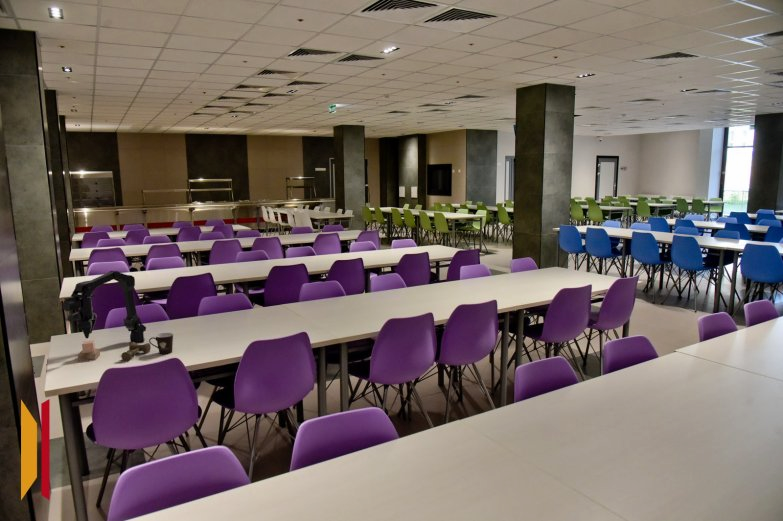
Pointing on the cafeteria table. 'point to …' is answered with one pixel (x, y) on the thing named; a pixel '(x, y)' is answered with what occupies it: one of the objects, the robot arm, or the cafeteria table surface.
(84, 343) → the terracotta cube
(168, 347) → the coffee mug
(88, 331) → the robot arm
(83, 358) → the walnut box
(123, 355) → the kendama
